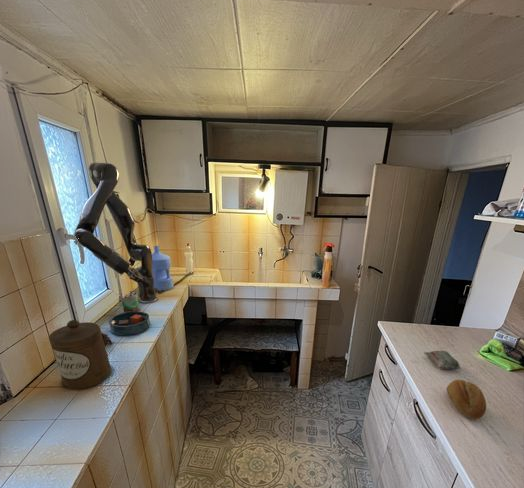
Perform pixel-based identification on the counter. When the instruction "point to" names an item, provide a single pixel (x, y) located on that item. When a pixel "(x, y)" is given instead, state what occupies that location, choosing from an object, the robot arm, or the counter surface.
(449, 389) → the bread roll
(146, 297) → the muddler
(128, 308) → the food container
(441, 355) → the packaged food
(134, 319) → the block
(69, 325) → the wooden container
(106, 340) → the pottery mug
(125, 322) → the block
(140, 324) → the bowl
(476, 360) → the counter surface
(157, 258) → the water jug
